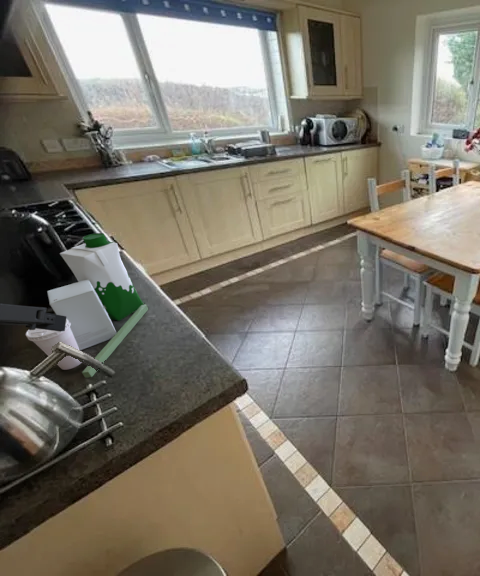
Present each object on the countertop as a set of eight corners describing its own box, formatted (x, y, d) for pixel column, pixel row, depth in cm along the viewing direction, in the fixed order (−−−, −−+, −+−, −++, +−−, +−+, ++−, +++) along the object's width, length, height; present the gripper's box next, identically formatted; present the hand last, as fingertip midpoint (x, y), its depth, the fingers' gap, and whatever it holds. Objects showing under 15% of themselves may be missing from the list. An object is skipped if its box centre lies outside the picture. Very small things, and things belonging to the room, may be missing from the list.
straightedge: (85, 378, 65) (81, 372, 64) (143, 309, 86) (141, 304, 85) (91, 377, 65) (88, 371, 65) (148, 309, 86) (146, 304, 85)
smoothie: (47, 366, 68) (6, 311, 61) (84, 349, 73) (50, 296, 65) (58, 379, 65) (16, 323, 58) (96, 360, 69) (62, 305, 62)
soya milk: (150, 304, 88) (117, 234, 77) (118, 324, 80) (77, 249, 70) (125, 299, 90) (90, 230, 79) (91, 318, 82) (48, 245, 72)
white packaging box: (119, 336, 76) (93, 290, 70) (79, 351, 72) (47, 304, 65) (113, 322, 81) (88, 278, 74) (75, 336, 76) (45, 290, 70)
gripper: (-298, 348, 36) (-62, 356, 57) (-41, 326, 39) (95, 341, 59) (-274, 283, 38) (-54, 313, 58) (-29, 267, 41) (99, 301, 61)
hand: (22, 327), depth 59 cm, fingers open, 13 cm apart
